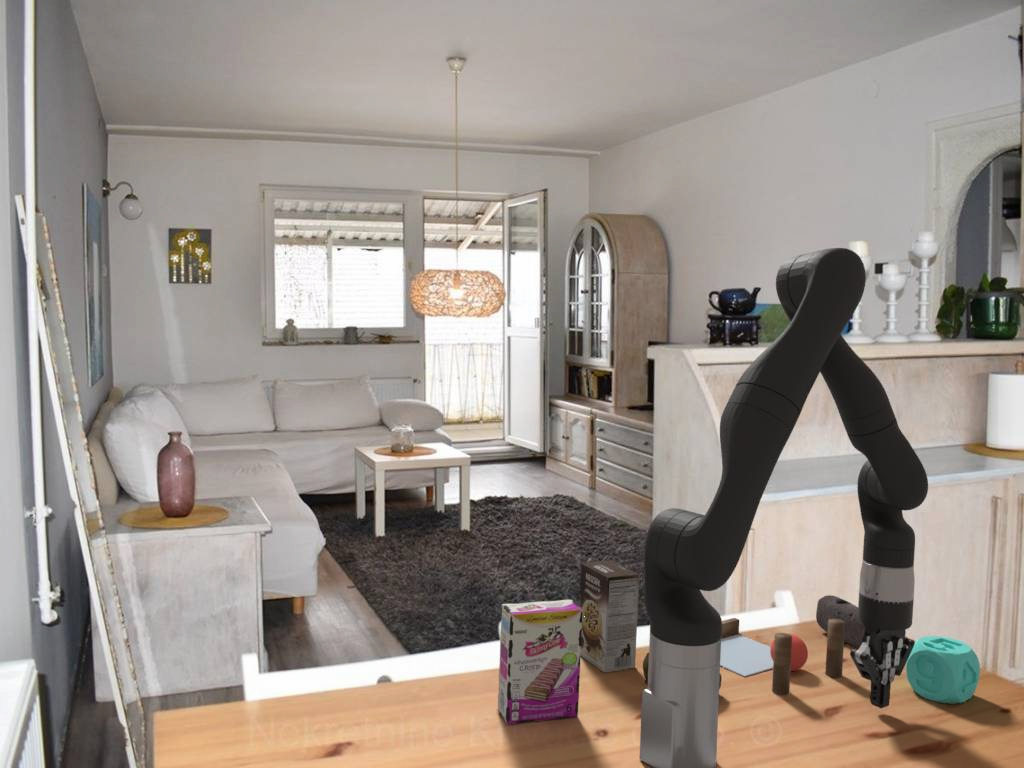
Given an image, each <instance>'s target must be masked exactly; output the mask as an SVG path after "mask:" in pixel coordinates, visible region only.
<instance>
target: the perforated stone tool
mask: <svg viewBox="0 0 1024 768" xmlns="http://www.w3.org/2000/svg"><path fill="white" fill-rule="evenodd" d="M815 619H816V623H817V625H818V626H819V627H820V629H822V630H823V631H825V632H826V634H828V620H829V619H839V620H843V621H844V622H845V631H844V644H845V643H846V644H848V645H851V646H853V647H856V648H857V649H859V648H860V646H861V645H862V640H861V638H862V634H863V631H864V625H863V624H862V622H861V621H860V620H859V619H858V606H856V605H855V604H853V603H852V602H850V601H847V600H845V599H843V598H840V597H839V596H835V595H824V596H822V597H821V598H819V599H818V600H817V607H816V612H815Z"/></svg>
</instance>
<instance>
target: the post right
mask: <svg viewBox="0 0 1024 768" xmlns="http://www.w3.org/2000/svg"><path fill="white" fill-rule="evenodd" d="M844 631H845V622H844V621H843V620H839V619H829V620H828V633H826V635H827V637H826V653H825V671H824V673H825V675H826V676H827V677H829V678H835V679H838V678H842V677H843V667H844V665H843V664H844V648H845V647H844V646H845V642H844Z"/></svg>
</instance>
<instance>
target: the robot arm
mask: <svg viewBox="0 0 1024 768" xmlns="http://www.w3.org/2000/svg"><path fill="white" fill-rule="evenodd" d="M866 280H867V277H866V268H865V265H864V262H863V260H862V258H861V257H860V255H859V254H858V253H856V252H855V251H853V250H852V249H849V248H845V247H833V248H832V247H831V248H824V249H821V250H816V251H812V252H807V253H802V254H798V255H795V256H792V257H790V258H788V259H787V260H785V261H784V262H783V263H782V264H781V265H780V266H779V269H778V270H777V273H776V278H775V290H776V294H777V297H778V300H779V303H780V305H781V307H782V308H783V311H784V312H785V314H786V316H787V318H788V320H789V321H790V322H789V323H788V325H787V326H786V327H785V329H784V330H783V332H781V334H780V335H779V336H778V337H777V338H776V339H775V340H774V341H773V342H771V344H770V345H769V346H768V347H767V348H766V349H764V350H763V352H762V353H760V355H758V356H757V357H756V359H755V360H753V361H752V362H751V363H750V365H749V366H748V367H746V369H745V371H744V372H743V373H742V375H741V376H740V378H739V379H738V381H737V383H736V385H735V386H734V388H733V391H732V393H731V395H730V396H729V399H728V401H726V404H725V407H724V408H723V411H722V414H721V417H720V422H719V443H720V453H721V454H720V455H721V460H722V463H721V464H722V468H721V470H722V471H721V477H720V481H719V485H718V487H717V490H716V493H715V495H714V497H713V499H712V501H711V503H710V506H709V508H708V510H707V511H706V512H705V514H700V513H697V512H695V511H694V512H693V511H690V510H686V509H681V508H673V507H672V508H667V509H664V510H663V511H661V512H659V513H658V514H657V515H656V516H655V517H654V519H653V520H652V521H651V524H650V525H649V527H648V530H647V533H646V537H645V542H644V551H643V552H644V553H643V554H644V555H643V563H644V564H643V577H644V581H643V582H644V606H645V611H646V613H647V614H646V615H647V616H648V619H649V643H648V645H649V649H648V653H649V668H648V685H647V688H645V689H643V690H642V691H641V709H640V710H641V711H640V712H641V713H640V732H639V733H640V735H639V736H640V738H639V739H640V740H639V759H640V760H641V761H643V763H645V764H647V765H649V766H650V767H652V768H716V766H717V755H718V754H717V752H718V751H717V748H718V723H719V722H718V720H719V705H720V704H719V703H720V702H719V701H720V700H719V699H720V698H719V697H720V689H719V679H720V674H721V672H720V671H721V666H720V656H721V639H722V637H721V635H722V621H723V619H722V616H721V615H720V613H719V612H718V610H717V609H716V608H714V606H712V605H711V604H710V602H709V601H708V600H707V599H706V598H705V597H704V595H703V593H702V591H704V592H712V591H716V590H718V589H719V588H721V587H723V586H724V585H725V584H726V583H727V582H728V581H729V580H730V578H731V576H732V574H733V573H734V572H735V570H736V568H737V566H738V564H739V561H740V558H741V556H742V553H743V551H744V549H745V545H746V542H747V540H748V537H749V534H750V530H751V528H752V526H753V522H754V519H755V516H756V514H757V512H758V511H757V510H758V509H759V508H758V507H759V505H760V503H761V501H762V497H763V494H764V492H765V491H766V488H767V486H768V483H769V481H770V479H771V477H772V475H773V471H774V469H775V467H776V464H777V463H778V461H779V458H780V456H781V454H782V452H783V450H784V448H785V446H786V444H787V443H788V441H789V439H790V437H791V435H792V432H793V430H794V428H795V426H796V424H797V422H798V420H799V418H800V415H801V413H802V411H803V408H804V406H805V403H806V401H807V398H808V396H809V394H810V393H811V391H812V389H813V386H814V385H815V382H816V381H817V379H818V377H819V375H820V374H821V376H822V378H823V380H824V382H825V384H826V386H827V388H828V390H829V391H830V394H831V396H832V399H833V400H834V403H835V405H836V409H837V410H838V414H839V417H840V419H841V422H842V424H843V426H844V430H845V432H846V434H847V437H848V439H849V441H850V443H851V445H852V446H853V448H854V449H855V450H857V451H858V452H859V453H861V454H862V455H864V457H866V459H867V460H866V461H865V462H864V463H863V465H862V466H861V468H860V471H859V474H858V477H857V487H856V488H857V497H858V504H859V509H860V510H859V511H860V516H861V520H862V521H861V522H862V525H863V531H864V535H863V547H862V548H863V552H862V563H861V568H860V572H859V573H860V574H859V590H858V602H857V603H858V604H857V605H858V606H857V607H858V619H859V620H860V621H861V622H862V624H863V625H864V631H863V634H862V638H861V640H862V645H861V646H860V648H857V649H855V648H852V649H851V650H850V653H849V655H850V658H851V659H852V661H853V663H854V665H855V667H856V669H857V671H858V673H859V674H860V676H861V678H863V679H865V680H868V681H870V692H869V693H870V696H869V698H870V699H869V701H870V704H871V705H873V706H874V707H877V708H879V709H884V708H887V707H888V706H889V705H890V699H891V684H892V683H893V682H894V680H895V677H896V676H898V677H899V676H901V675H902V672H903V671H904V668H905V667H906V662H907V660H908V658H909V656H910V653H911V651H912V649H913V647H914V644H915V642H916V641H915V640H914V639H911V638H909V637H908V636H906V635H907V631H906V630H909V629H910V628H911V627H912V625H913V616H914V615H913V613H914V600H915V599H914V598H915V583H916V581H915V570H914V568H915V552H916V551H915V550H916V549H915V548H916V534H915V530H914V528H913V527H912V526H911V525H910V524H908V522H907V521H906V519H905V518H904V515H903V511H911V510H914V509H917V508H918V507H920V506H921V505H922V504H923V503H924V501H925V500H926V498H927V495H928V492H929V481H928V480H929V479H928V474H927V472H926V469H925V467H924V465H923V463H922V461H921V459H920V458H919V456H918V454H917V453H916V451H915V450H914V448H913V447H912V445H911V443H910V442H909V439H907V437H906V436H905V435H904V434H903V431H902V430H901V429H900V426H899V424H898V420H897V418H896V415H895V412H894V410H893V409H894V408H892V407H893V406H892V404H891V402H890V399H889V396H888V394H887V392H886V390H885V387H884V386H883V384H882V383H881V380H879V378H878V376H877V375H876V374H875V373H874V372H873V370H872V369H871V368H870V367H869V366H868V364H866V362H864V360H863V359H862V358H861V357H860V356H859V355H858V354H857V353H856V352H855V351H854V350H853V349H852V347H851V346H850V345H849V344H848V342H847V341H846V339H845V338H844V337H843V335H842V332H844V329H845V328H846V326H847V324H848V323H849V321H850V320H851V318H852V316H853V315H854V313H855V311H856V309H857V307H858V306H859V304H860V302H861V300H862V297H863V295H864V291H865V287H866Z"/></svg>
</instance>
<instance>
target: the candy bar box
mask: <svg viewBox="0 0 1024 768" xmlns="http://www.w3.org/2000/svg"><path fill="white" fill-rule="evenodd" d="M500 610H501V611H500V613H501V614H500V617H501V618H500V619H501V620H500V636H499V638H500V641H499V642H500V643H499V644H500V645H499V666H498V668H499V669H498V670H499V671H498V695H497V696H498V697H497V699H498V700H497V712H498V713H499V715H500V716H501V717H502V719H503V721H504V723H506V725H515V724H516V725H517V724H524V723H533V722H541V721H542V722H543V721H550V720H558V719H566V718H569V719H570V718H576V717H577V718H578V715H579V701H580V700H579V699H580V675H581V633H582V611H583V610H582V609H581V608H580V605H578V604H577V603H575V602H574V600H572V599H560V600H559V599H558V600H557V599H556V600H544V601H531V602H530V601H527V602H512V603H502V604H501V609H500Z"/></svg>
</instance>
